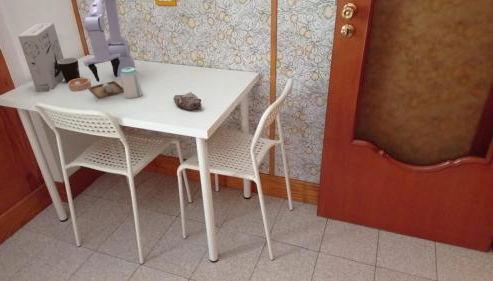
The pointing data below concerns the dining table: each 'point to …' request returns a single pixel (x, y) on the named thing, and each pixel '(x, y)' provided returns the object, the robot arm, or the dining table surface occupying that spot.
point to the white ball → (105, 86)
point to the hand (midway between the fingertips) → (107, 78)
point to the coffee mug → (69, 68)
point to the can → (130, 82)
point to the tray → (102, 93)
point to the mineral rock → (187, 101)
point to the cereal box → (42, 55)
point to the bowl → (84, 84)
